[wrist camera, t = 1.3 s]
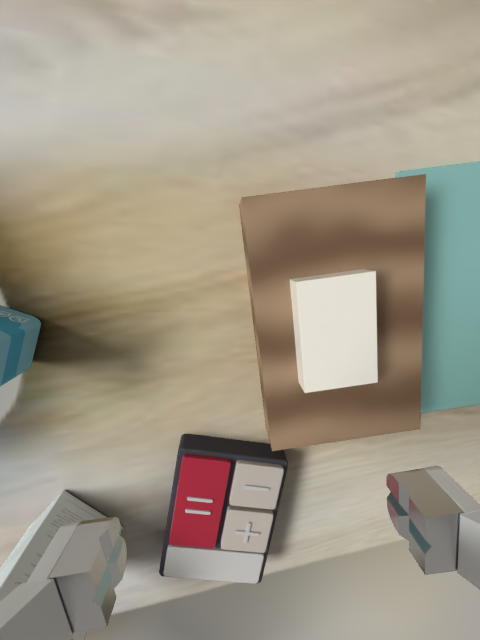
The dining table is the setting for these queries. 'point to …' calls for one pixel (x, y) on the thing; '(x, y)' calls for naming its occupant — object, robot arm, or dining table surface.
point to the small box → (43, 542)
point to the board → (326, 258)
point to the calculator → (222, 509)
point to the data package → (16, 342)
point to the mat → (451, 287)
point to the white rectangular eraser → (335, 329)
